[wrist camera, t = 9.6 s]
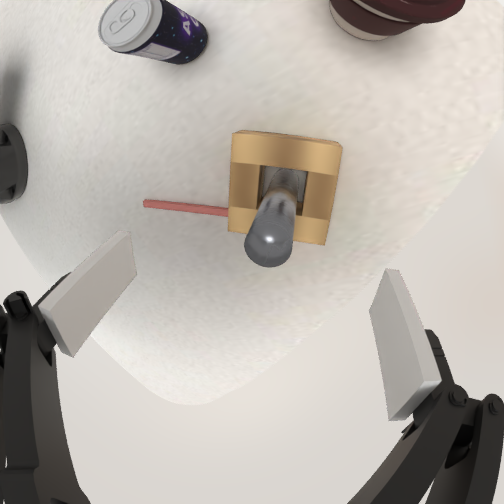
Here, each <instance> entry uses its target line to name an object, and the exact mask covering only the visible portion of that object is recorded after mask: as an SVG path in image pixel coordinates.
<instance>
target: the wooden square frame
mask: <svg viewBox="0 0 504 504" xmlns="http://www.w3.org/2000/svg"><path fill="white" fill-rule="evenodd" d="M341 154H342V146H341V145H340V144H339V143H338V142H334V141H328V140H322V139H315V138H309V137H302V136H294V135H287V134H278V133H269V132H258V131H246V130H241V131H238V132H235V133H232V147H231V166H230V187H229V210H228V231H231V232H238V233H245V234H248V231H249V229H250V227H251V225H252V223H253V220H254V218H255V216H256V214H257V212H258V209H259V207H260V205H261V203H262V201H263V198H264V197H262V192H263V181H264V169H265V165H266V166H274V167H282V168H289V169H297V170H304V171H307V175H306V182H305V189H304V196H303V203H301V202H297V206H296V216H295V226H294V235H293V241H299V242H305V243H312V244H318V245H325V241H326V237H327V232H328V227H329V222H330V217H331V212H332V207H333V201H334V196H335V190H336V185H337V179H338V173H339V167H340V160H341Z"/></svg>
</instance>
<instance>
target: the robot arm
mask: <svg viewBox="0 0 504 504" xmlns="http://www.w3.org/2000/svg"><path fill="white" fill-rule="evenodd" d="M26 182H27V157H26V151H25V147H24V143H23V140H22V138H21V136H20V134H19V132H18V130H17V129H16V128H15V127H14V126H13V125H11V124H4V125H1V126H0V204H4V203H9V202H12V201H14V200H15V199H17V198H19V197H20V196H21V195H22V194H23V192H24V190H25V186H26ZM136 275H137V272H136V266H135V261H134V255H133V248H132V242H131V235H130V232H127V231H120V230H119V231H117V232H116V233H115V234H114V235H113V236H111V237H110V238H109V239H108V240H107V241H106V242H104V243H103V244H102V245H101V246H100V247H99V248H98V249H96V250H95V251H94V252H93V253H92V254H91V255H90V256H89V257H87V258H86V259H85V260H84V261H83V262H82V263H81V264H80V265H79V266H78V267H77V268H76V269H74V270H73V271H72V272H70V273H68V274H66V275H65V276H63V277H61V278H60V279H59V280H58V281H57V282H56V283H55V285H53V286H52V287H51V288H50V290H48V291H47V292H46V293H45V294H44V295H43V296H42V297H41V298H40V299H39V300H38V302H37V303H36V304H35V305H33V307H32V306H31V303H30V301H29V299H28V297H27V294H26V293H25V292H24V291H16V292H13V293H11V294H10V295H9V296H8V297H7V298H6V299H5V300H4V302H3V305H4V307H5V309H6V311H7V313H5V311H4V309H3V307H2V306H1V305H0V349H1V352H0V504H3V501H4V502H5V504H91V503H90V501H89V500H88V498H87V496H86V495H85V494H84V493H83V491H82V490H81V488H80V487H79V484H78V481H77V478H76V475H75V471H74V468H73V464H72V460H71V457H70V452H69V448H68V445H67V439H66V434H65V429H64V424H63V418H62V412H61V406H60V399H59V391H58V380H57V368H56V354H55V350H54V348H53V347H54V346H55V345H56V343H57V345H58V347H59V348H60V350H61V352H62V353H65V354H66V355H69V356H71V357H74V356H75V354H76V353H77V352H78V350H79V349H80V347H81V346H82V345H83V343H84V342H85V340H86V339H87V338H88V336H89V335H90V334H91V332H92V331H93V330H94V328H95V327H96V326H97V324H98V323H99V322H100V320H101V319H102V318H103V316H104V315H105V314H106V313H107V311H108V310H109V309H110V307H111V306H112V305H113V304H114V302H115V301H116V300H117V299H118V297H119V296H120V295H121V294H122V292H123V291H124V290H125V289H126V287H127V286H128V285H129V284H130V282H131V281H132V280H133V279H134V278H135V276H136ZM369 313H370V317H371V321H372V326H373V330H374V335H375V339H376V345H377V349H378V355H379V360H380V365H381V371H382V377H383V383H384V389H385V396H386V403H387V411H388V419H389V421H398V420H406V419H407V417H409V416H410V414H412V413H413V418H414V421H413V422H412V423H411V424H409V425H408V426H407V427H406V428H405V429H404V430H403V431H402V433H404V432H405V433H404V434H403V436H402V437H401V439H400V440H399V442H398V443H397V444H396V446H395V447H394V448H393V450H392V451H391V453H390V454H389V455H388V457H387V458H386V459H385V460H384V462H383V463H382V464H381V466H380V467H379V468H378V469H377V471H376V472H375V473H374V474H373V475H372V477H371V478H370V479H369V480H368V481H367V483H366V484H365V485H364V486H363V487H362V488H361V489H360V490H359V492H358V493H357V494H356V495H355V496H354V497H353V498H352V499H351V500H350V501H349V502H348V503H347V504H418V503H419V502H420V501H421V499H422V497H423V496H424V494H425V493H426V491H427V490H428V488H429V486H430V485H431V483H432V482H433V480H434V482H433V485H432V487H431V490H430V493H429V495H428V498H427V501H426V503H425V504H492V501H493V497H494V493H495V489H496V484H497V479H498V474H499V468H500V462H501V456H502V448H503V438H504V403H503V401H502V399H501V398H500V397H499V396H497V395H496V394H489V395H487V396H486V397H485V398H484V399H483V400H482V401H480V400H476V399H472V398H469V397H468V394H467V393H466V391H465V390H464V389H463V388H462V387H461V386H459V385H456V384H455V383H454V380H453V377H452V374H451V371H450V369H449V365H448V363H447V360H446V357H444V356H445V354H444V352H443V349H442V346H441V344H440V341H439V339H438V337H437V336H436V335H435V334H434V332H433V331H432V330H426V329H424V328H423V325H422V322H421V320H420V317H419V315H418V312H417V310H416V307H415V305H414V303H413V301H412V298H411V296H410V294H409V291H408V289H407V287H406V284H405V282H404V280H403V278H402V276H401V274H400V271H399V270H393V269H385V271H384V274H383V277H382V280H381V282H380V285H379V287H378V290H377V293H376V295H375V298H374V300H373V303H372V305H371V308H370V310H369ZM6 458H7V467H6V468H5V466H6V465H5V464H6ZM434 478H435V479H434Z"/></svg>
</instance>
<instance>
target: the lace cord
mask: <svg viewBox="0 0 504 504" xmlns="http://www.w3.org/2000/svg"><path fill="white" fill-rule="evenodd" d="M143 205H144V207H149V208H158V209H168V210H176V211H185V212H194V213H202V214H210V215H218V216H226V217H228V210H229V208H222V207H213V206H205V205H196V204H187V203H177V202H167V201H157V200H146V199H145V200H144V201H143Z"/></svg>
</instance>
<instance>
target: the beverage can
mask: <svg viewBox="0 0 504 504" xmlns="http://www.w3.org/2000/svg"><path fill="white" fill-rule="evenodd" d="M98 34H99V37H100V39H101V41H102V42H103V43H104V44H105V45H107V46H108V47H109V48H110V49H111V50H113V51H115V52H118V53H124V54H130V55H135V56H141V57H146V58H151V59H155V60H160V61H164V62H168V63H173V64H184V63H187V62H190V61H192V60H193V59H195V58H196V57H197V56H199V55H200V53H201V52H202V51H203V49H204V48H205V46H206V43H207V31H206V29H205V27H204V26H203V24H201V23H200V22H199V21H197V20H196V19H194V18H193V17H191V16H190V15H188V14H187V13H185V12H184V11H182V10H181V9H179V8H177V7H176V6H174V5H173V4H171V3H169V2H168V1H166V0H114V1H113V2H112V3H111V4H110V5H109V6H108V7H107V8H106V9H105V11H104V12H103V14H102V16H101V18H100V21H99V26H98Z"/></svg>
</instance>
